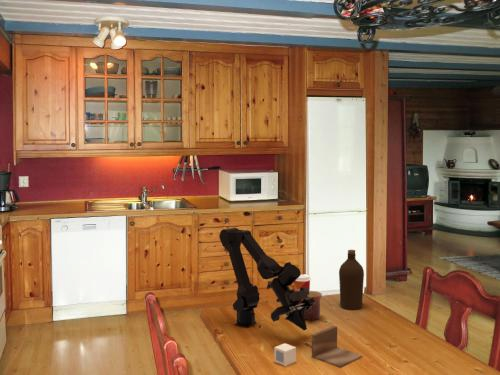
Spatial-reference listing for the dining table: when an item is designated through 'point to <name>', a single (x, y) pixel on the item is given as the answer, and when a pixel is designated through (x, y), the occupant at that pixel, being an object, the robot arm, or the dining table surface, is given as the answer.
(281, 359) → the letter cube
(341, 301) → the olive oil
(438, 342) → the dining table surface
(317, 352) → the bookend
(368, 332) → the dining table surface
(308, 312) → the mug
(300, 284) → the paper cup
